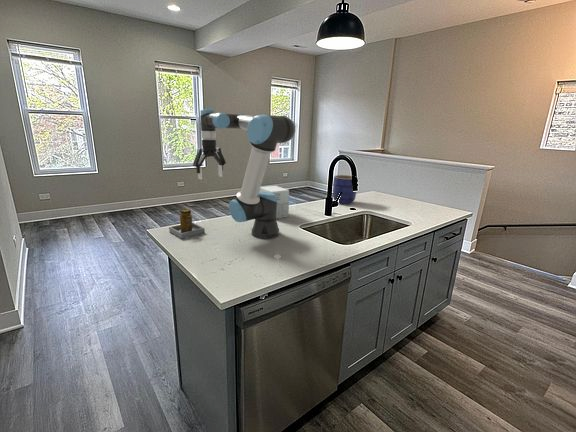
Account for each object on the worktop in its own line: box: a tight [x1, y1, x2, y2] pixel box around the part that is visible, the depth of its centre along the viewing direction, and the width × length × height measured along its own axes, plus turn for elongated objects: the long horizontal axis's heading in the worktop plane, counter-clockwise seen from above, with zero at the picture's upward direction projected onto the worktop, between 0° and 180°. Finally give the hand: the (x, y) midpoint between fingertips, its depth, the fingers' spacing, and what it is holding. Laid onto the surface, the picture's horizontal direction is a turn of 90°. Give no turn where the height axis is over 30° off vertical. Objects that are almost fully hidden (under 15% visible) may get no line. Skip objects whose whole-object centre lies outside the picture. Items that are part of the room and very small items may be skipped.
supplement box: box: [259, 185, 290, 220], centre depth 196 cm, size 17×13×18 cm
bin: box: [168, 221, 206, 240], centre depth 161 cm, size 13×13×3 cm
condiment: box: [179, 208, 193, 233], centre depth 159 cm, size 7×8×12 cm
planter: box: [332, 174, 359, 205], centre depth 233 cm, size 18×18×21 cm
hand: (210, 177), depth 169 cm, fingers open, 13 cm apart
